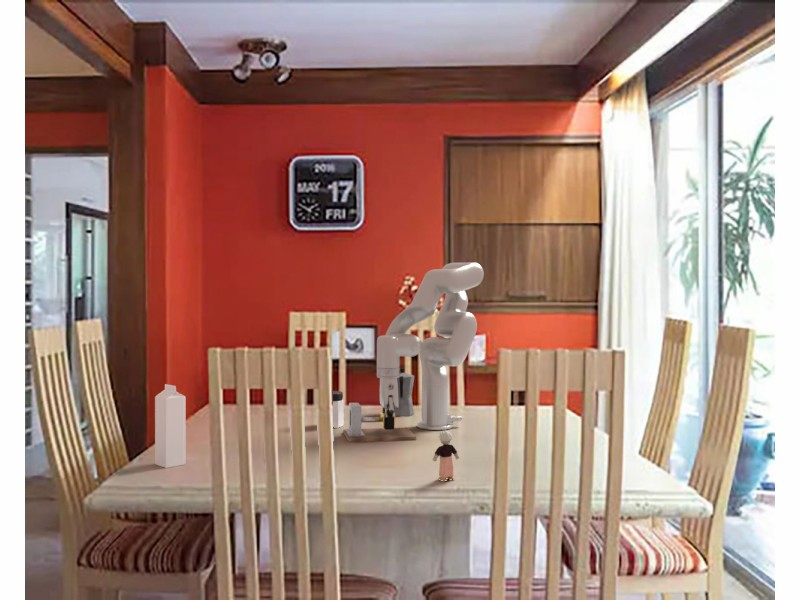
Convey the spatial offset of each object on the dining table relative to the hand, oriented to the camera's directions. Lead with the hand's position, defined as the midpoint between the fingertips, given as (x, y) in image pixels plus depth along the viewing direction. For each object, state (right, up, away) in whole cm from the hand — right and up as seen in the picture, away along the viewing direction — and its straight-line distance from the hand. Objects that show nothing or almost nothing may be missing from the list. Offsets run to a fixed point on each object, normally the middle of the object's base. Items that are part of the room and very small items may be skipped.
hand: (387, 427), depth 242 cm
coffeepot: (+5, -2, +39) cm, 39 cm away
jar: (-20, -3, +15) cm, 26 cm away
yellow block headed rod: (-5, 0, -1) cm, 5 cm away
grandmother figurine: (+16, -4, -54) cm, 56 cm away
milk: (-59, -3, -40) cm, 72 cm away
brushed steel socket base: (-11, -3, -2) cm, 11 cm away
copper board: (-3, -3, 0) cm, 4 cm away
